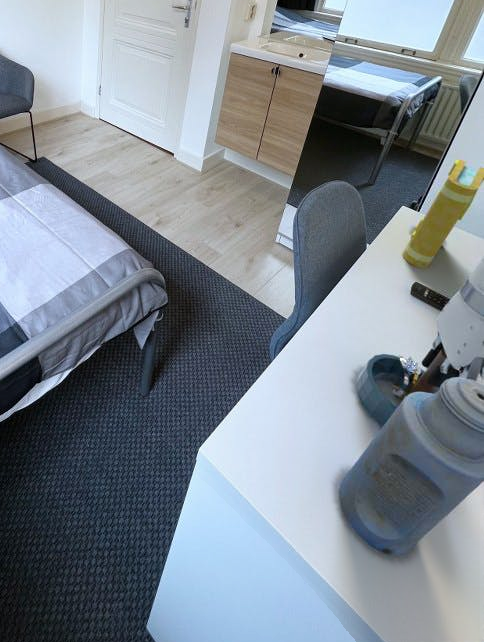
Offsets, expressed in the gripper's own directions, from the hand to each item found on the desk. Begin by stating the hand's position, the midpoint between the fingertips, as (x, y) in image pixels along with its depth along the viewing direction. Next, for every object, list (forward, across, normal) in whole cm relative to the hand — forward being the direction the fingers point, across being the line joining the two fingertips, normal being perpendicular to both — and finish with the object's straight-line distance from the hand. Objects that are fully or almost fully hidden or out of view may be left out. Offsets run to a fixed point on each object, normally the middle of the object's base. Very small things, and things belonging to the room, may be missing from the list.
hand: (435, 376), depth 70 cm
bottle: (+11, -20, +8) cm, 24 cm away
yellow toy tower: (+11, +54, -14) cm, 57 cm away
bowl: (+11, 0, +2) cm, 11 cm away
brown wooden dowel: (+10, 0, 0) cm, 10 cm away
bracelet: (+11, +4, +1) cm, 12 cm away
